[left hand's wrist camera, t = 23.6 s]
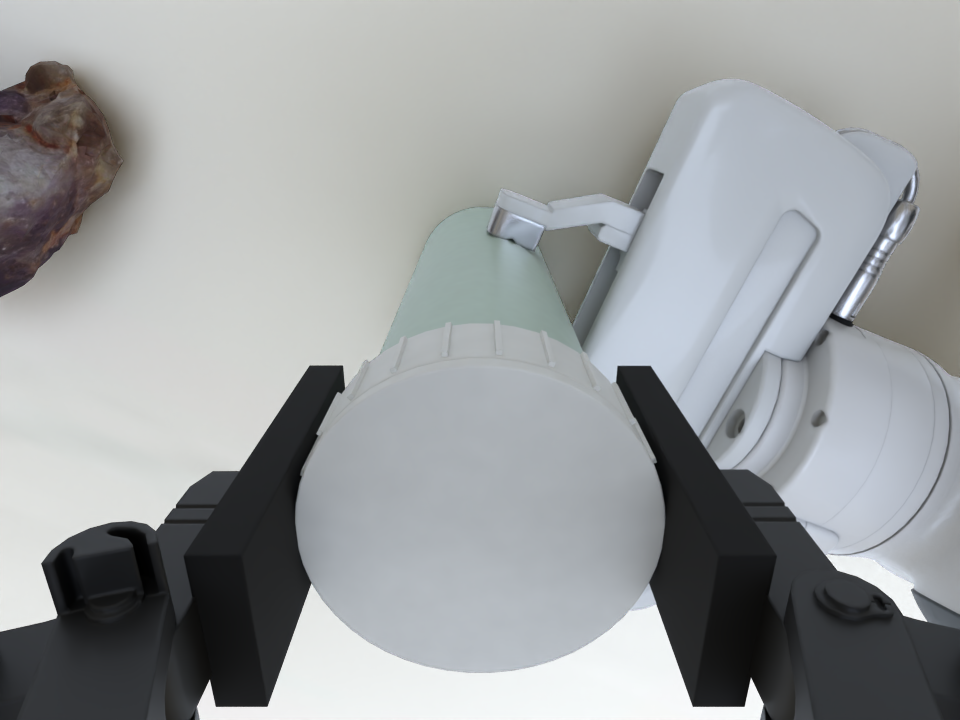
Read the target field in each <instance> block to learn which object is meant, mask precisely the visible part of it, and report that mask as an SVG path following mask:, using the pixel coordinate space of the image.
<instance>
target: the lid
mask: <svg viewBox="0 0 960 720" xmlns="http://www.w3.org/2000/svg"><path fill="white" fill-rule="evenodd" d="M316 434H317V435H318V437H317V439H316V441H315V443H314V445H313V448H312V450H311V452H310V454H309V456H308V458H307V460H306V462H305V464H304V466H303V468H302V470H301V473H300V476H302V478H301V480H300V483H299V488H298V493H297V498H296V503H295V525H296V533H297V540H298V548H299V552H300V556H301V559H302V563H303V565H304V568H305V570H306V572H307V574H308V576H309V579H310V581H311V583H312V584H313V586H314V588H315V589H316V591H317V592H318V594H319V595H320V597H321V599H322V600H323V601H324V602H325V603H326V605H327V606H328V607H329V608H330V609H331V611H332V612H333V613H334V614H335V615H336V616H337V617H338V618H339V619H340V620H341V621H342V622H343V623H344V624H346V625H347V626H348V627H349V628H350V629H351V630H353V631H354V632H355V633H357V634H358V635H359V636H361V637H362V638H364V639H365V640H366V641H368V642H370V643H372V644H373V645H375V646H377V647H379V648H380V649H382V650H384V651H386V652H388V653H390V654H393V655H395V656H397V657H400V658H402V659H404V660H407V661H411V662H414V663H417V664H420V665H424V666H427V667H432V668H437V669H442V670H447V671H457V672H467V673H493V672H504V671H513V670H518V669H523V668H529V667H533V666H537V665H540V664H543V663H547V662H550V661H553V660H556V659H558V658H561V657H563V656H565V655H568V654H570V653H573V652H575V651H576V650H578V649H580V648H582V647H584V646H586V645H587V644H589V643H591V642H593V641H594V640H595V639H597V638H598V637H600V636H601V635H602V634H604V633H605V632H607V631H608V630H609V629H610V628H612V627H613V626H614V625H615V624H616V623H617V622H618V621H619V620H620V619H622V618H623V617H624V616H625V615H626V613H627V612H628V611H629V610H630V609H631V608H632V606H633V605H634V604H635V603H636V602H637V601H638V599H639V598H640V596H641V594H642V593H643V591H644V590H645V588H646V587H647V585H648V584H649V581H650V579H651V577H652V575H653V573H654V571H655V569H656V567H657V564H658V560H659V557H660V554H661V550H662V544H663V537H664V529H665V502H664V497H663V491H662V486H661V483H660V480H659V477H658V474H657V471H656V468H655V466H654V463H657V461H656V458H655V456H654V454H653V452H652V450H651V448H650V446H649V444H648V442H647V440H646V438H645V436H644V434H643V432H642V430H641V428H640V426H639V424H638V422H637V420H636V418H634V417H633V415H632V413H631V411H630V409H629V407H628V405H627V403H626V401H625V399H624V397H623V395H622V393H621V391H620V389H619V387H618V385H617V383H616V382H613V383H612V384H611V383H610V382H609V380H608V379H607V378H606V377H605V376H604V375H603V374H602V373H601V372H600V371H599V370H598V369H597V368H596V367H595V366H594V365H593V364H592V363H591V362H590V360H589V358H588V355H587V354H586V353H585V352H582V353H581V354H579V353H578V352H577V351H575V350H573V349H571V348H570V347H568V346H566V345H564V344H563V343H561V342H559V341H557V340H555V339H552V338H550V337H548V335H547V332H545V331H543V330H541V332H540V333H538V332H534V331H530V330H526V329H523V328H519V327H515V326H507V325H500V321H498V320H494V324H482V323H469V324H461V325H453V326H452V323H451V322H448V323H446V324H445V327H442V328H438V329H434V330H430V331H426V332H423V333H421V334H418V335H415V336H413V337H410V338H408V339H407V337H406V336H403V337H401V338H400V340H399V343H398V344H396V345H394V346H392V347H391V348H389V349H387V350H385V351H384V352H383V353H381V354H380V355H379V356H377V357H376V358H375V359H373V360H372V361H371V362H368V361H367V360H366V361H364V362H363V363H362V366H361V368H360V370H359V372H358V374H357V375H356V376H355V377H354V378H353V380H352V381H351V382H350V383H349V385H348V386H347V387H346V389H345V390H344V391H343V393H342V394H341V393H339V392H338V393H337V394H336V396H335V398H334V400H333V402H332V404H331V406H330V408H329V410H328V412H327V414H326V416H325V418H324V420H323V422H322V424H321V426H320V427H319V429H318V431H317V433H316Z"/></svg>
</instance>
